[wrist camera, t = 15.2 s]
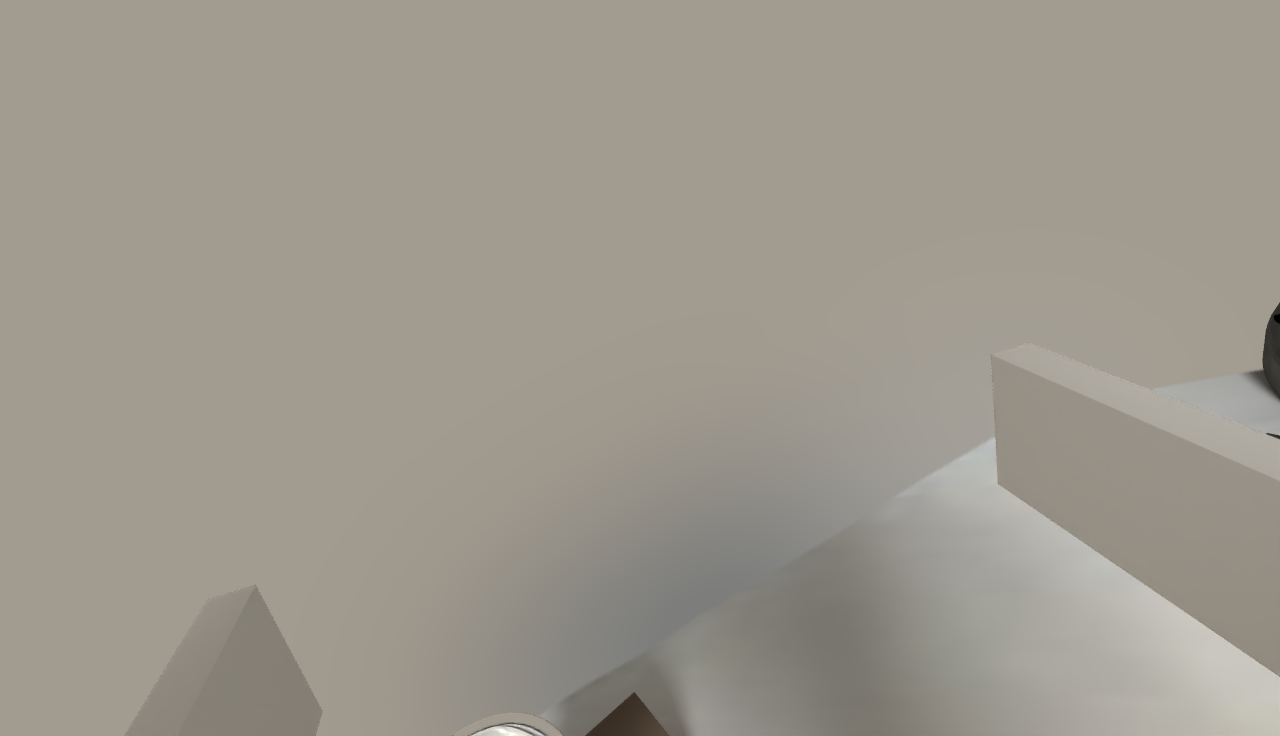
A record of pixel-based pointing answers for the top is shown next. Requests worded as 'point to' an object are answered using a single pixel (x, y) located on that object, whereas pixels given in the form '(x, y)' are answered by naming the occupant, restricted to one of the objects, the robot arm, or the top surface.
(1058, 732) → the top surface
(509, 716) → the metal tumbler
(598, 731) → the brown u-shaped block
